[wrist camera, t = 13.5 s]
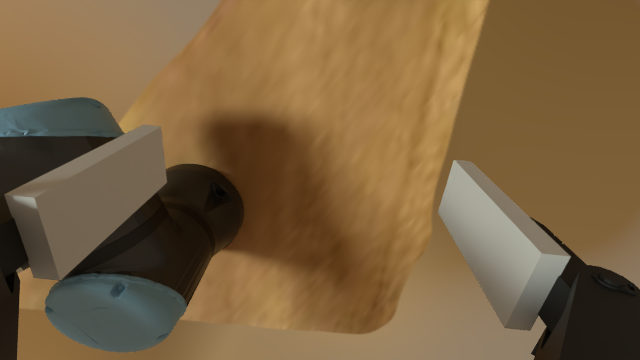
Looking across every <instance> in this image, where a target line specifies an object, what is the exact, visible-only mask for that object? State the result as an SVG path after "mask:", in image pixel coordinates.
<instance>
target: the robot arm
mask: <svg viewBox="0 0 640 360" xmlns="http://www.w3.org/2000/svg"><path fill="white" fill-rule="evenodd" d="M438 213H439V215H440V217H441V218H442V220H443V222H444V224H445V225H446V227H447V229H448V231H449V232H450V234H451V236H452V238H453V239H454V241H455V243H456V244H457V246H458V248H459V250H460V251H461V253H462V255H463V256H464V258H465V260H466V262H467V264H468V265H469V267H470V269H471V270H472V272H473V274H474V276H475V277H476V279H477V281H478V283H479V284H480V286H481V288H482V290H483V291H484V293H485V295H486V296H487V298H488V300H489V302H490V303H491V305H492V307H493V309H494V310H495V312H496V314H497V316H498V317H499V319H500V321H501V323H502V324H503V326H504V328H510V329H520V330H529V331H530V330H531V328H532V326H533V324H534V322H535V321H536V319H537V317H538V315H539V316H540V318H541V319H542V320H543V322H544V323H545V325H546V326H547V327H546V329H545V330H544V332H543V334H542V336H541V338H540V339H539V341H538V343H537V344H536V346H535V348H534V349H533V351H532V353H531V354H532V355H534V356H535V358H534V360H640V289H639V288H638V287H637V286H635V285H634V284H633V283H632V282H630V281H629V280H627V279H626V278H624V277H623V276H621V275H619V274H617V273H614V272H612V271H610V270H607V269H604V268H601V267H597V266H591V265H586V264H585V263H584V262H583V261H582V260H581V259H580V258H579V257H578V256H576V255H575V254H574V253H573V252H572V251H571V250H570V249H569V248H568V247H567V246H566V245H565V244H562V241H560V240H559V239H558V238H557V237H556V236H554V234H553V233H552V232H551V231H550V230H549V229H547V228H546V227H545V226H544V225H543V224H541V223H539V222H538V221H536V220H534V219H533V218H531V217H529V216H528V215H527V214H526V213H525V212H523V211H522V210H521V209H520V208H519V207H518V206H517V205H516V204H515V203H514V202H513V201H512V200H511V199H510V198H509V197H508V196H507V195H506V194H504V193H503V192H502V191H501V190H500V189H499V188H498V187H497V186H496V185H495V184H494V183H493V182H492V181H491V180H490V179H489V178H488V177H487V176H486V175H485V174H484V173H482V172H481V171H480V170H479V169H478V168H477V167H476V166H475V165H474V164H473V163H472V162H470V161H461V160H454V162H453V165H452V168H451V172H450V175H449V178H448V182H447V185H446V188H445V191H444V194H443V198H442V201H441V204H440V208H439V211H438ZM243 217H244V209H243V203H242V200H241V197H240V195H239V193H238V192H237V190H236V188H235V187H234V186H233V185H232V184H231V182H230V181H229V180H227V179H226V178H225V177H224V176H223V175H221V174H220V173H218V172H216V171H214V170H212V169H210V168H207V167H204V166H201V165H195V164H181V165H176V166H172V167H170V168H168V169H166V168H165V159H164V150H163V141H162V132H161V127H160V126H151V125H142V126H140V127H138V128H136V129H134V130H132V131H130V132H128V133H126V134H125V133H124V132H123V131H122V129H121V128H120V126H119V125H118V123H117V122H116V121H115V119H114V117H113V116H112V114H111V112H110V111H109V109H108V108H107V107H106V106H105V105H104V104H102V103H101V102H99V101H97V100H94V99H91V98H84V97H82V98H81V97H80V98H68V99H58V100H51V101H44V102H36V103H31V104H24V105H19V106H12V107H7V108H1V109H0V360H17V342H18V318H19V316H18V315H19V293H20V279H19V277H18V274H17V273H19V272H21V271H23V270H25V269H27V268H29V267H30V268H31V271H32V274H33V277H34V278H40V279H50V280H59V282H57V283H56V284H55V285H54V286H53V287H52V288H51V290H50V291H49V294H48V296H47V298H46V300H45V305H46V307H45V312H46V315H47V317H48V319H49V320H50V322H51V323H52V324H53V325H54V326H55V327H56V328H57V329H58V330H59V331H60V332H61V333H63V334H64V335H66V336H67V337H69V338H70V339H73V340H74V341H76V342H79V343H81V344H83V345H86V346H89V347H92V348H96V349H101V350H105V351H110V352H136V351H141V350H145V349H148V348H151V347H153V346H155V345H157V344H159V343H160V342H162V341H163V340H164V339H165V338H166V337H167V336H168V335H169V334H170V333H171V331H172V330H173V328H174V326H175V325H176V323H177V322H178V320H179V318H180V317H182V316H183V314H184V312H185V311H186V308H187V306H188V304H189V302H190V300H191V298H192V296H193V294H194V292H195V290H196V288H197V286H198V284H199V282H200V280H201V278H202V276H203V274H204V272H205V270H206V268H207V266H208V264H209V262H210V260H211V258H212V257H213V256H214V255H215V254H217V253H218V252H219V251H220V250H221V249H223V248H224V247H226V246H227V245H228V244H230V243H231V242H232V240H233V239H234V238H235V237H236V235H237V233H238V231H239V229H240V227H241V225H242V222H243Z"/></svg>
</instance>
